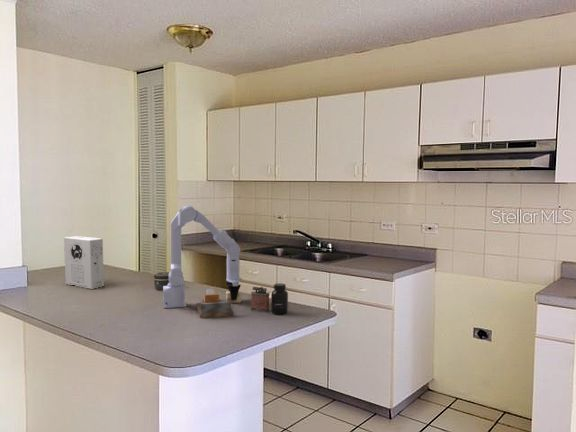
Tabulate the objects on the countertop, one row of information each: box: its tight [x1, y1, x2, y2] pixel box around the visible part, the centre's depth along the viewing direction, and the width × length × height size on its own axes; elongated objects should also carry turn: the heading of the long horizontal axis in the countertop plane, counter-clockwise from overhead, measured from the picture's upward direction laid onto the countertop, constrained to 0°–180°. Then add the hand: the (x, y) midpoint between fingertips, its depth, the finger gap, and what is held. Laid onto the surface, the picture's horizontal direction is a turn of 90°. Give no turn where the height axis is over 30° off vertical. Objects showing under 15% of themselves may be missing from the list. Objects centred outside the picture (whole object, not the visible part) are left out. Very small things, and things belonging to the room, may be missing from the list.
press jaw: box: [204, 288, 220, 303], centre depth 218 cm, size 6×12×3 cm, turn 14°
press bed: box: [196, 295, 233, 319], centre depth 211 cm, size 13×30×6 cm, turn 14°
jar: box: [153, 271, 170, 291], centre depth 247 cm, size 10×10×8 cm
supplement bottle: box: [270, 282, 289, 316], centre depth 202 cm, size 7×7×12 cm
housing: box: [225, 290, 242, 304], centre depth 220 cm, size 6×4×6 cm, turn 104°
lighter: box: [250, 286, 270, 313], centre depth 206 cm, size 8×3×10 cm, turn 71°
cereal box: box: [63, 235, 105, 290], centre depth 253 cm, size 22×8×25 cm, turn 58°
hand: (233, 298), depth 220 cm, fingers closed on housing, 4 cm apart
